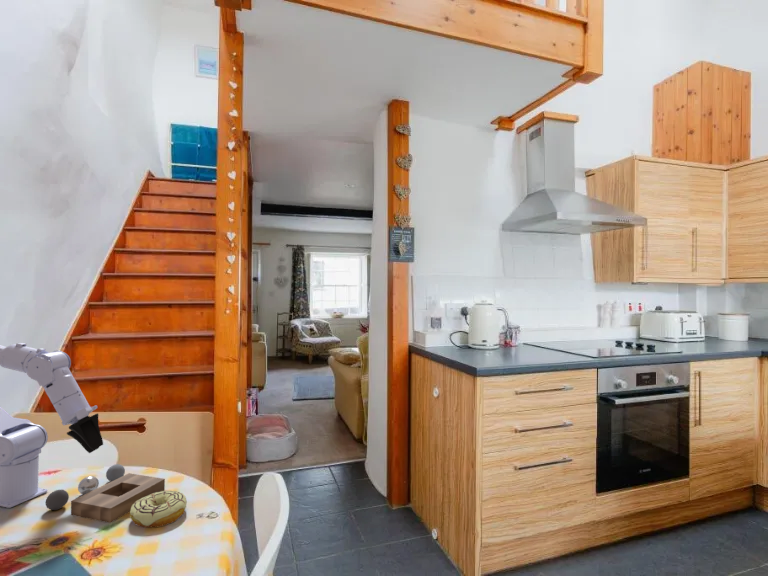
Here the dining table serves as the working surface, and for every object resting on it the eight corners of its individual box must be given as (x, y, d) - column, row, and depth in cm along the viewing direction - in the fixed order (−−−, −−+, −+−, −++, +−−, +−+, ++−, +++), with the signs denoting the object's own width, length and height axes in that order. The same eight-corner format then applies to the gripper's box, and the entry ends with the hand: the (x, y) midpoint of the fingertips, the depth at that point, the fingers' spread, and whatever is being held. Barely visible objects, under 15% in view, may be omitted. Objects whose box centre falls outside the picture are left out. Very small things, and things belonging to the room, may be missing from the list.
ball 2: (101, 483, 100) (102, 467, 100) (116, 476, 104) (116, 460, 104) (114, 485, 99) (114, 469, 99) (128, 478, 103) (128, 462, 103)
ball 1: (40, 512, 87) (40, 493, 87) (60, 503, 91) (60, 485, 91) (54, 514, 86) (54, 496, 86) (73, 505, 90) (73, 487, 90)
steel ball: (73, 496, 94) (73, 479, 94) (90, 488, 98) (90, 472, 98) (86, 499, 93) (86, 481, 93) (102, 491, 96) (103, 474, 96)
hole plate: (70, 515, 86) (71, 500, 86) (128, 485, 99) (129, 473, 99) (110, 523, 83) (110, 508, 83) (164, 491, 96) (164, 478, 96)
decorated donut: (144, 538, 78) (145, 518, 78) (120, 520, 84) (121, 502, 84) (195, 513, 87) (196, 496, 87) (170, 499, 93) (170, 483, 93)
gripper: (90, 383, 91) (119, 434, 91) (84, 395, 101) (110, 441, 101) (53, 399, 86) (84, 454, 86) (50, 410, 96) (78, 459, 96)
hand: (96, 449), depth 93 cm, fingers open, 7 cm apart
